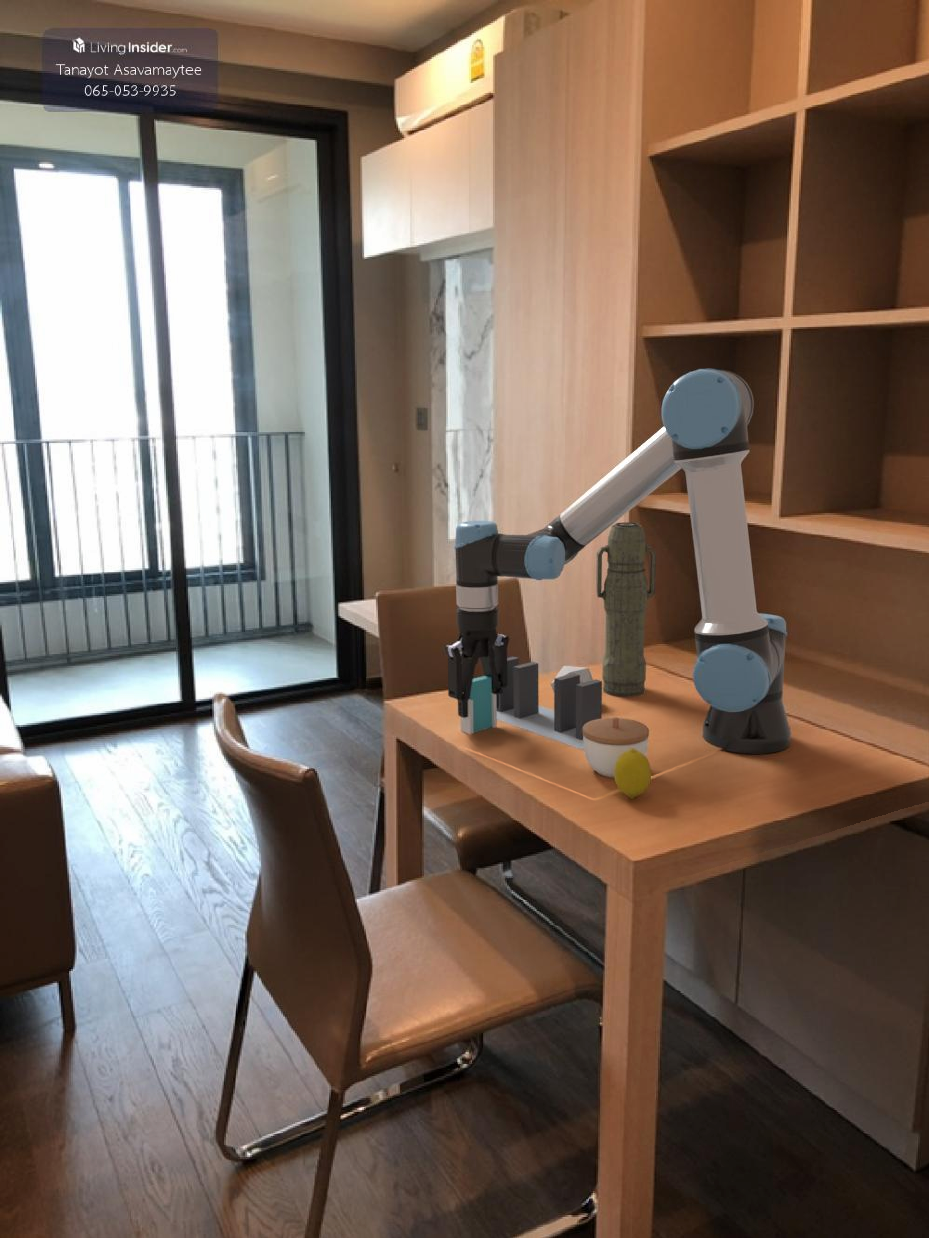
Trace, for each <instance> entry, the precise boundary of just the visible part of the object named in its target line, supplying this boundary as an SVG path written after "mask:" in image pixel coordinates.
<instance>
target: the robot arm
mask: <svg viewBox="0 0 929 1238" xmlns="http://www.w3.org/2000/svg"><path fill="white" fill-rule="evenodd" d="M754 402H755V401H754V396H753V392H752V390H751V388H750V386H749V384H748V383H747V381H746V380H744V379H743V377H741V376H740V375H738V374H736V373H734V372H732V371H730V370H725V369H715V368H710V367H709V368H699V369H696V370H693V371H689V372H688V373H685V374H684V375H681V376H680V377H679V378H678V379H676V380H675V381H673V383H672V384H671V385H670V386H669V388H668V389H667V391H666V393H665V395H664V397H663V399H662V405H661V420H662V424H663V427H661V428H660V429H659V430H658V431H657V432H655V433H654V434H653V435H652V436H651V437H649V438H648V439H647V440H646V441H645V442H644V443H642V444H641V445H640V446H638V447H637V449H635V450H634V451H633V452H632V453H631V454H630V455H628V456H627V457H626V458H624V460H622V461H621V462H620V463H619V464H618V465H616V466H615V467H614V468H612V470H611V471H609V472H608V473H607V474H606V475H605V476H604V477H602V478H601V479H600V480H599V481H597V483H595V484H594V485H593V486H592V487H591V488H589V489H588V490H587V491H586V492H585V493H584V494H583V495H581V496H579V497H578V499H577V500H575V501H574V502H573V503H572V504H571V505H570V506H568V507H567V508H566V509H565V510H564V511H562V513H560V514H559V515H558V516H557V517H555V518H554V519H553V520H551V521H550V522H549V523H548V524H547V525H546V526H545V527H543V528H542V529H539V530H536V531H534V532H531V533H528V534H506V533H505V534H504V533H499V530H498V525H497V524H496V522H494V521H488V520H468V521H463V522H460V523H458V524H457V526H456V528H455V529H456V530H455V544H454V551H455V571H456V572H455V573H456V574H455V575H456V578H455V579H456V580H455V581H456V582H455V583H456V584H455V585H456V586H455V589H456V605H457V606H458V608H457V610H456V627H457V629H458V633H459V634H458V637H457V640H456V642H454V643H453V644H447V645H446V646H445V649H444V650H445V653H446V655H447V687H448V688H447V690H448V691H447V693H448V697H450V698H452V699H456V700H457V715H458V717H460V731H461V732H463V733H466V734H468V735H473V734H474V732H473V700H471V699H469V697H470V692H471V686H472V681H473V679H474V674H475V668H476V665H478V664H479V663H478V662H479V659H480V662H481V667H482V671H483V676H489V677H492V727H491V728H493V729H494V728H497V726H498V724H497V723H498V720H497V708H498V707H499V694H501V693H502V692H503V689H502V688H503V687H504V688H505V687H507V685H508V678H507V658H508V646H509V642H510V636H509V635H504V634H502V633H498V632H497V628H498V627H499V609H498V608H497V605H499V585H498V583H499V581H498V577H499V578H500V577H503V578H504V577H505V578H519V579H528V580H529V579H530V580H536V581H542V580H556V579H558V578H559V577H560V576H561V574H562V572H563V571H564V567H565V565H567V564H568V563H569V562H571V561H573V560H574V559H575V558H576V557H577V555H578V554H579V553H580V551H582V550H584V548H585V547H586V546H588V545H589V544H590V543H591V542H592V541H594V540H595V539H596V538H597V537H598V536H600V535H601V534H602V533H604V532H605V531H606V530H608V529H609V528H610V527H612V525H614V523H615V524H616V523H617V521H618V520H619V519H621V518H622V517H624V516H625V514H627V513H628V512H629V511H630V510H632V509H633V508H634V507H636V506H637V505H638V504H639V503H640V502H642V501H643V500H644V499H645V498H646V497H648V496H649V495H650V494H652V493H653V492H654V491H655V490H657V489H658V488H659V487H660V486H661V485H662V484H664V483H665V482H666V481H667V480H669V479H670V478H671V477H673V476H674V475H675V474H676V473H677V472H678V471H680V470H681V469H682V470H683V471H684V472H685V473H684V474H685V480H686V490H687V497H688V506H689V515H690V522H691V529H692V530H691V532H692V540H693V541H692V542H693V549H694V558H695V565H696V574H697V583H698V590H699V591H698V592H699V601H700V609H701V620H699V622H698V623H697V624H696V625H695V627H694V640H695V647H696V648H695V649H696V656H697V658H696V660H695V662H694V666H693V672H692V679H693V680H692V681H693V685H694V688H695V690H696V691H697V694H698V695H699V697H700V698H701V699H702V700H703V701H704V702H706V703H707V705H709V708H708V711H707V714H706V717H705V720H704V721H703V724H702V738H703V740H704V741H706V742H707V743H708V744H710V745H711V746H714V747H717V748H719V749H721V750H724V751H727V752H732V753H739V754H749V755H751V754H753V755H754V754H755V755H756V754H761V755H762V754H771V753H777V752H781V751H784V750H785V749H788V748H789V746H790V745H791V735H792V731H791V726H790V725H789V720H788V717H787V712H786V710H785V706H784V702H783V693H784V692H783V691H784V690H783V689H784V677H785V675H784V674H785V673H784V672H785V657H786V656H785V652H786V637H787V636H788V632H787V622H786V620H785V619H784V617H782V616H779V615H774V614H768V613H759V612H758V611H757V601H756V593H755V584H754V583H755V582H754V576H753V575H754V574H753V566H752V554H751V546H750V537H749V529H748V528H749V527H748V520H747V510H746V499H745V492H744V491H745V489H744V483H743V481H744V480H743V474H742V465H741V464H742V462H743V461H744V459H745V458H746V457H747V455H748V454H749V453H750V444H749V434H748V425H749V423H750V422H751V418H752V416H753V413H754V405H755V403H754Z"/></svg>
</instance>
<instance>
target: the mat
mask: <svg viewBox="0 0 929 1238" xmlns="http://www.w3.org/2000/svg"><path fill="white" fill-rule="evenodd" d="M497 721H500V722H502V723H505V724H507V725H508V724H509V725H511V726H514V727H517V728H519V729H522V730H525V731H528V732H531V733H533V734H536V735H539V736H541V737H545V738H547V739H550V740H553V741H555V742H558V743H561V744H565V745H567V746H570V747H573V748H575V749H578V750H584V745H583V740H580V739H577V738H576V728H574V729H571V730H568V731H564V732H561V733H560V732H557V731H554V709H552V708H548V707H546V706H542V705H539V713H537V714H534V715H530V716H527V717H523V718H520V719H519V718H516V717H514V708H513V709H510V710H506V711H503V712H499V711H497Z"/></svg>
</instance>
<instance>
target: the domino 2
mask: <svg viewBox="0 0 929 1238" xmlns="http://www.w3.org/2000/svg"><path fill="white" fill-rule="evenodd" d="M513 670H514V717H516V718H519V719H520V718H523V717H527V716H530V715H534V714H537V713H539V706H540V705H539V697H540V696H539V663H538V662H535V661H530V662H525V663H522V664H519V665H518V666H514V667H513Z"/></svg>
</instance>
